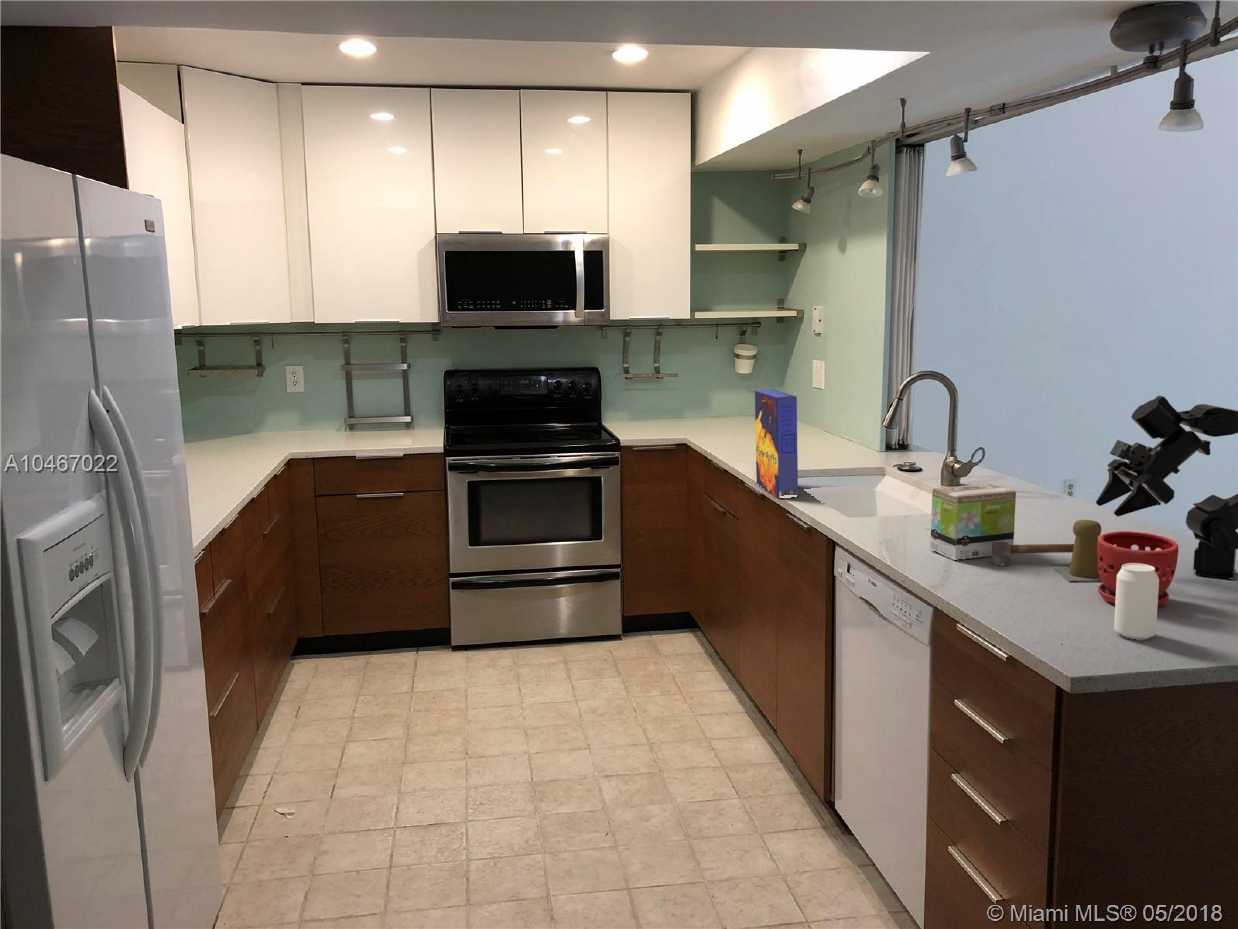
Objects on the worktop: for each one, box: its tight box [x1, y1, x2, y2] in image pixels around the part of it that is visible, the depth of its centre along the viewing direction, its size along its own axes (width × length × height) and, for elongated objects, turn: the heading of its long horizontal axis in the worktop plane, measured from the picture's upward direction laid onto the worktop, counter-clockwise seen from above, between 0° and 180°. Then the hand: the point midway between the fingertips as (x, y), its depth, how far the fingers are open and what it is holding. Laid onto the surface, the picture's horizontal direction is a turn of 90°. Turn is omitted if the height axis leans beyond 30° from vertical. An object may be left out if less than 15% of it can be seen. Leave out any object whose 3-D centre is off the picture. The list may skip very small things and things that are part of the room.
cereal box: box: [754, 388, 799, 500], centre depth 282 cm, size 22×6×30 cm, turn 8°
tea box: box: [929, 483, 1017, 560], centre depth 210 cm, size 15×10×15 cm, turn 105°
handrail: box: [991, 542, 1103, 566], centre depth 201 cm, size 22×3×4 cm, turn 83°
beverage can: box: [1113, 563, 1159, 641], centre depth 158 cm, size 6×6×12 cm
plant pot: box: [1097, 530, 1179, 608], centre depth 174 cm, size 13×13×12 cm
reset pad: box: [1053, 566, 1102, 583], centre depth 192 cm, size 9×9×1 cm
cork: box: [1069, 519, 1102, 577], centre depth 191 cm, size 6×6×11 cm
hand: (1106, 509), depth 189 cm, fingers open, 9 cm apart
